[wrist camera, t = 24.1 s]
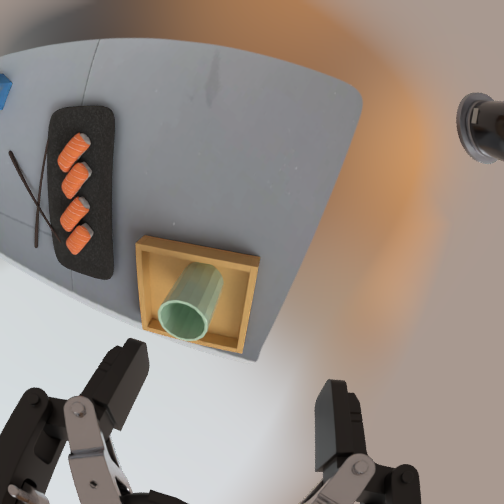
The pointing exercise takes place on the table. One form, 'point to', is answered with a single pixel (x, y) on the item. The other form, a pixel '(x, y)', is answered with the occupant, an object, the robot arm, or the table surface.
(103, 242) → the sushi plate
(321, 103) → the table surface
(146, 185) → the table surface
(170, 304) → the teacup
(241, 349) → the tray
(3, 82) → the perfume bottle
